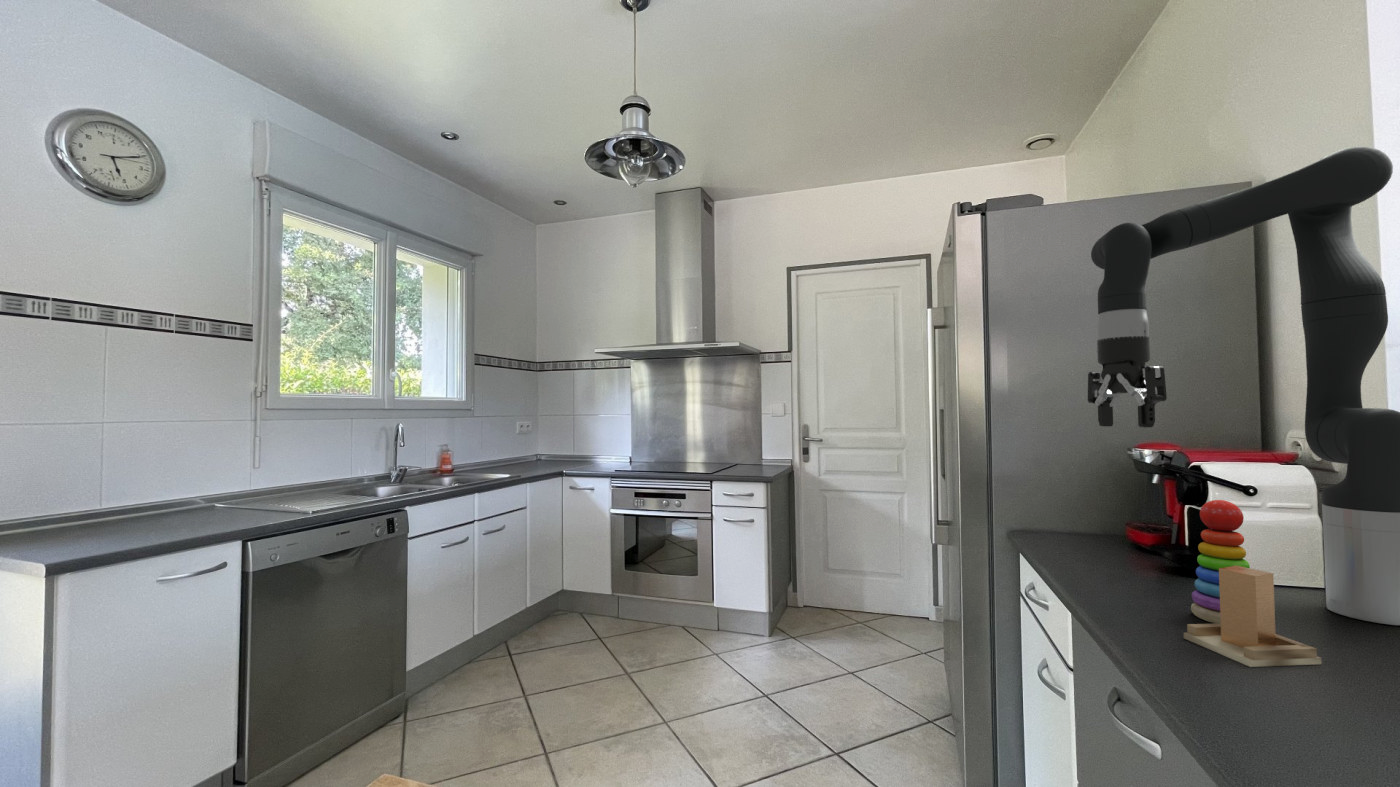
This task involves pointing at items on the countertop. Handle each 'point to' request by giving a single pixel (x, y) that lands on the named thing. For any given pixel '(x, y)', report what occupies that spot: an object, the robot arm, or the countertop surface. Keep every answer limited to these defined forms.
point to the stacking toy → (1216, 555)
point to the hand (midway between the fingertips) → (1125, 426)
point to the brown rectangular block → (1247, 607)
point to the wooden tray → (1253, 648)
